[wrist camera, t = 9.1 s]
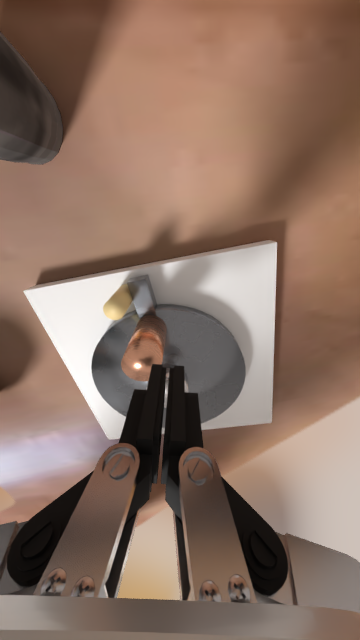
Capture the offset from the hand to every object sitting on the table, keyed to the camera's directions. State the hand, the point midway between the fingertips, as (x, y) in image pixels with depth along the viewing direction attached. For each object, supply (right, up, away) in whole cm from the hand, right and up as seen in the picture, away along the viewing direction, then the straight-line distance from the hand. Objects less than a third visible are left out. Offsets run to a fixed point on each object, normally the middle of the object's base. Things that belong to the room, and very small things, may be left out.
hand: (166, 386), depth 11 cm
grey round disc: (-1, 0, +8) cm, 8 cm away
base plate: (0, -1, +10) cm, 11 cm away
